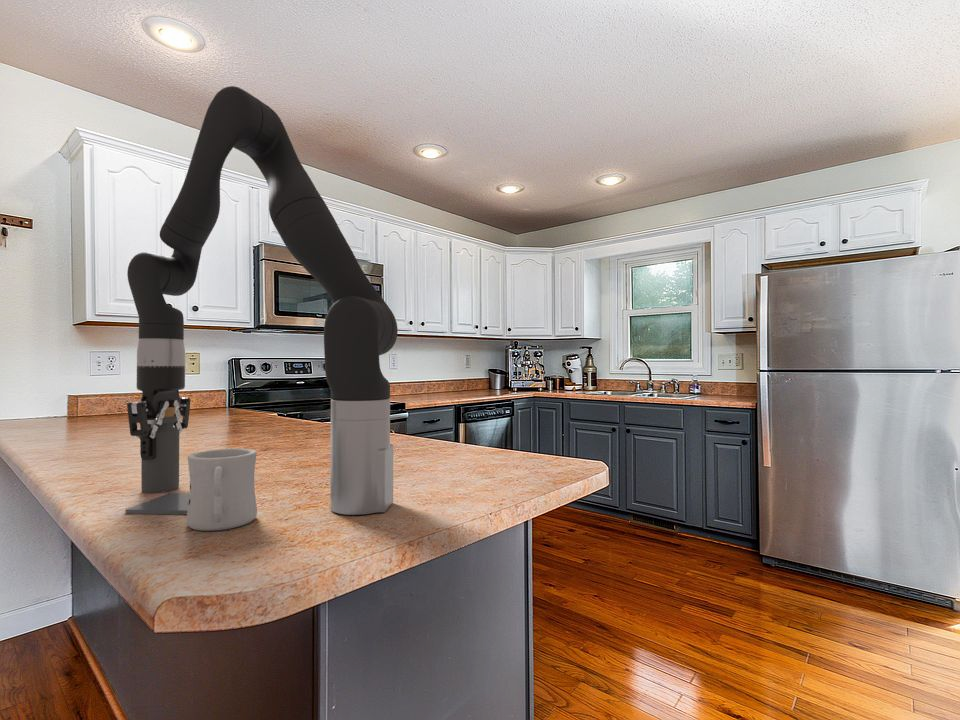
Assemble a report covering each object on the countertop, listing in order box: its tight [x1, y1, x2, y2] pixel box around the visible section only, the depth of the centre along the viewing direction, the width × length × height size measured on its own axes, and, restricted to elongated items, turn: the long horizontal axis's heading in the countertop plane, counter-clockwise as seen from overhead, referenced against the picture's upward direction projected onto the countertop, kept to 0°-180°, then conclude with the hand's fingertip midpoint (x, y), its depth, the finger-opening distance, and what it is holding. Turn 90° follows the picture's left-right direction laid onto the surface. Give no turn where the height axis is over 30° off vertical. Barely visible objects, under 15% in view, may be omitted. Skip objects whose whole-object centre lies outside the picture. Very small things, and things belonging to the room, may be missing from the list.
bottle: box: [140, 407, 180, 494], centre depth 93 cm, size 6×6×15 cm
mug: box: [186, 448, 258, 532], centre depth 72 cm, size 12×9×10 cm
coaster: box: [125, 492, 190, 515], centre depth 82 cm, size 10×10×1 cm
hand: (160, 455), depth 93 cm, fingers closed on bottle, 5 cm apart
